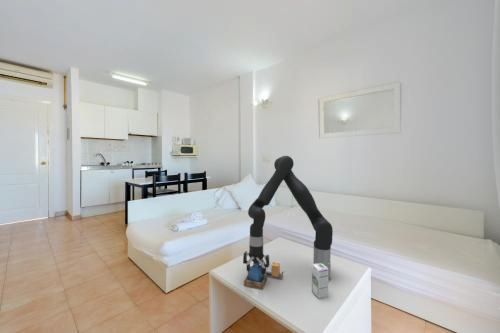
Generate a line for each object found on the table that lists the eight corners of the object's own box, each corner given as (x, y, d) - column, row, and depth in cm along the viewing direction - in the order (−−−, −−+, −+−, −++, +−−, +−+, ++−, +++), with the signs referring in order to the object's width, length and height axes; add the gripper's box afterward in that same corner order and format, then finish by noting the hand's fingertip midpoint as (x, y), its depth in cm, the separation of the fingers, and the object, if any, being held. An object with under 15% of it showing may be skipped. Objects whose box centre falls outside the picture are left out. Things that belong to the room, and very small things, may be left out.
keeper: (267, 279, 117) (267, 273, 117) (262, 289, 107) (262, 284, 107) (250, 276, 120) (250, 270, 120) (244, 286, 110) (244, 280, 110)
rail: (283, 276, 120) (283, 271, 120) (281, 280, 116) (282, 275, 116) (250, 270, 126) (250, 266, 126) (248, 273, 122) (248, 269, 122)
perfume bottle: (258, 286, 109) (259, 263, 109) (248, 282, 112) (248, 260, 112) (264, 280, 115) (264, 258, 114) (254, 276, 118) (254, 256, 117)
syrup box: (328, 296, 102) (329, 267, 102) (318, 299, 101) (318, 269, 100) (321, 289, 108) (321, 262, 107) (311, 291, 106) (311, 263, 105)
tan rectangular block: (279, 273, 120) (279, 263, 120) (278, 277, 117) (278, 266, 116) (266, 270, 123) (266, 261, 123) (265, 274, 119) (265, 264, 119)
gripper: (270, 242, 114) (270, 271, 115) (246, 239, 118) (246, 266, 119) (267, 247, 107) (267, 278, 108) (241, 244, 111) (241, 273, 112)
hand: (256, 272), depth 113 cm, fingers open, 8 cm apart
